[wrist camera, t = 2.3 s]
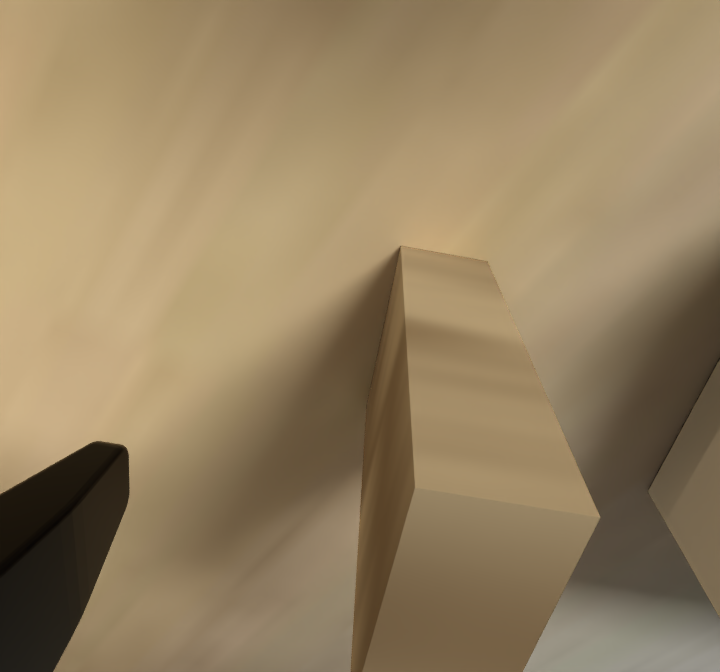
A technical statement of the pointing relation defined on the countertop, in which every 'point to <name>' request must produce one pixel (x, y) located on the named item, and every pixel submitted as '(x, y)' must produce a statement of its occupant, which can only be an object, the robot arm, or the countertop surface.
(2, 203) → the countertop surface
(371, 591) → the tan wooden block
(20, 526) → the robot arm
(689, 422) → the white open frame
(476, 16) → the countertop surface
